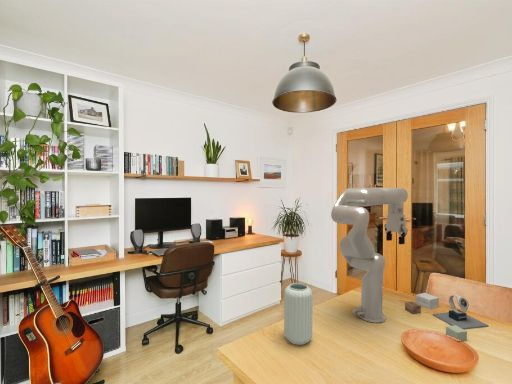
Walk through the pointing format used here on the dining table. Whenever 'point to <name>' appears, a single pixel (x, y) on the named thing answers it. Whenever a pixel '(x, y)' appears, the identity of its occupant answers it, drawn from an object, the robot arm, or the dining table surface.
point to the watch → (456, 313)
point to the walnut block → (413, 307)
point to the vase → (298, 313)
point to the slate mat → (464, 324)
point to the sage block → (456, 332)
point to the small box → (427, 300)
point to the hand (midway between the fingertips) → (395, 242)
